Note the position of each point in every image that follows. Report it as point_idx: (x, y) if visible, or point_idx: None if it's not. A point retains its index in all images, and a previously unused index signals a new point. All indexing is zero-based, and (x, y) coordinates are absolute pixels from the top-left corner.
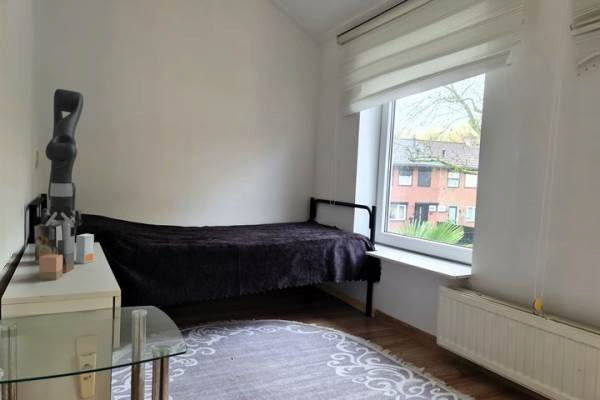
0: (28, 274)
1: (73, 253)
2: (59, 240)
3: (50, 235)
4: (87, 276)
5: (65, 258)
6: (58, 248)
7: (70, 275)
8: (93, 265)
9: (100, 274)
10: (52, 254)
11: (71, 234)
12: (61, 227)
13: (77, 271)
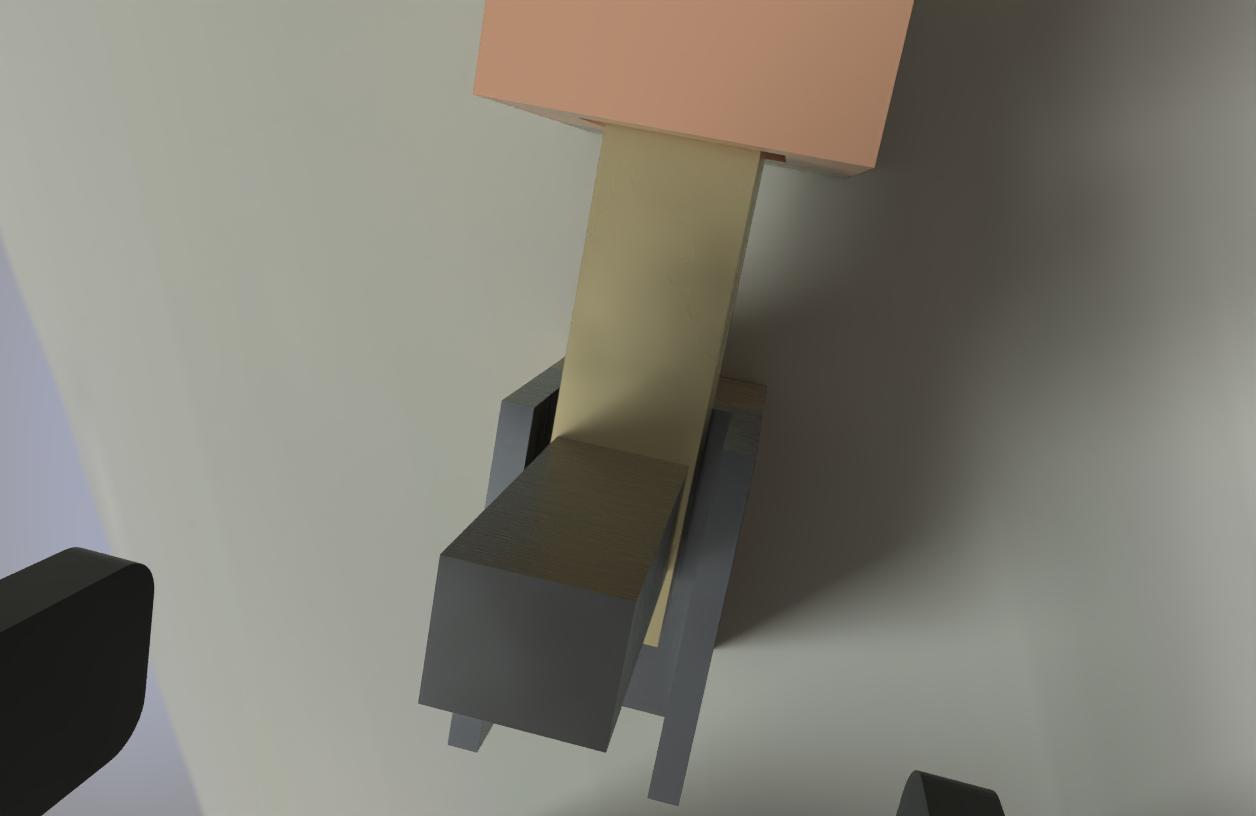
0: (1149, 318)
1: (455, 719)
2: (591, 652)
3: None
4: (233, 101)
5: (531, 396)
6: (643, 513)
7: (485, 187)
8: (311, 752)
9: (90, 208)
10: (709, 134)
11: (58, 567)
12: None
13: (443, 426)
